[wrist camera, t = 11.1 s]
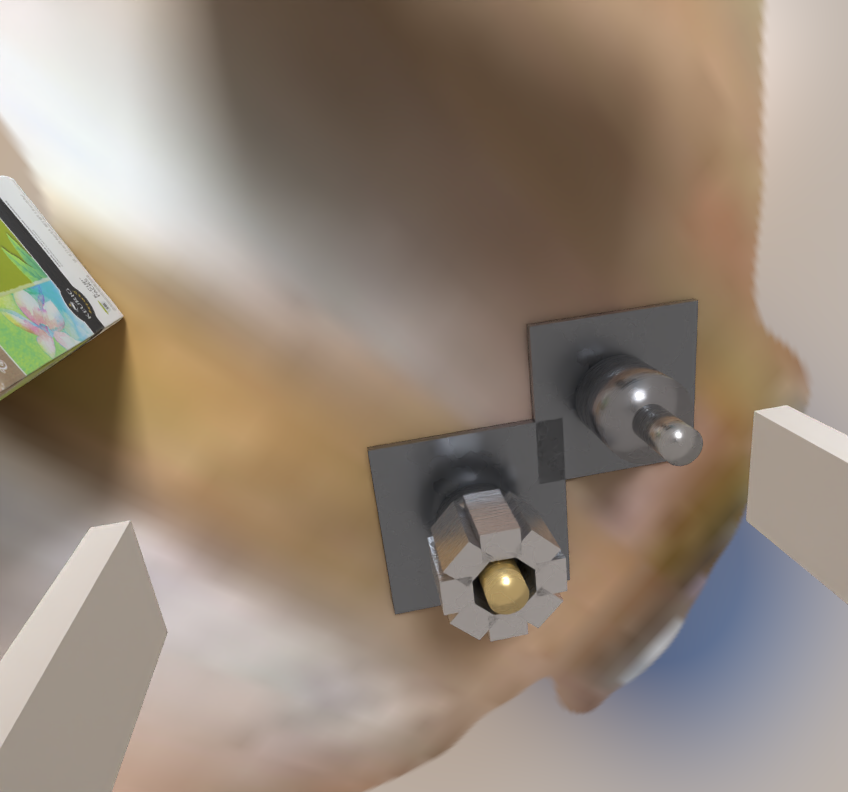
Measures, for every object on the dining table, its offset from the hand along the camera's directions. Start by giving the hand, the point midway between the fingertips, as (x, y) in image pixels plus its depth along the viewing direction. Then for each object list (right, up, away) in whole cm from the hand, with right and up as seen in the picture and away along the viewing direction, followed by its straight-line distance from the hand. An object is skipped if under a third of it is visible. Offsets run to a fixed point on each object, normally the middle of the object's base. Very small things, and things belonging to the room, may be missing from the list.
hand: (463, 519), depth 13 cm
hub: (+3, -6, +34) cm, 34 cm away
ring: (+3, -8, +30) cm, 31 cm away
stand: (+13, +3, +32) cm, 34 cm away
